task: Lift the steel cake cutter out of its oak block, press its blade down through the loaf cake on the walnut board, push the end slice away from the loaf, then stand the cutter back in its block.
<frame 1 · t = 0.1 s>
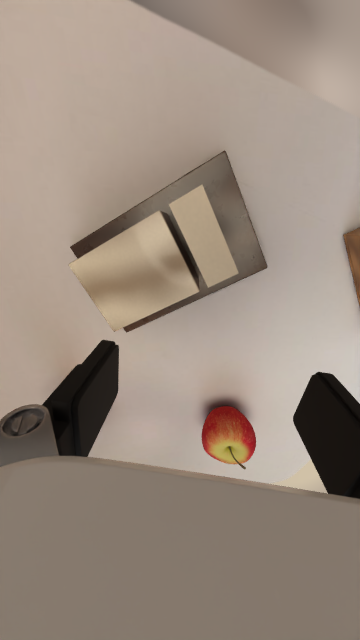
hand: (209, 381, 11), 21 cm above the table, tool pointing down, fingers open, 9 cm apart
cake slice: (203, 237, 27), point 1 cm above the table, touching cake
cake: (161, 259, 30), on the table
apple: (224, 413, 40), on the table
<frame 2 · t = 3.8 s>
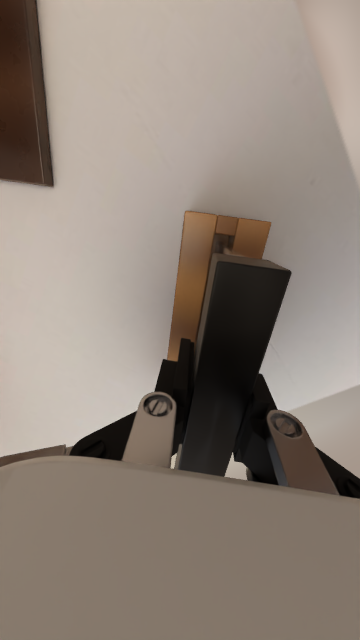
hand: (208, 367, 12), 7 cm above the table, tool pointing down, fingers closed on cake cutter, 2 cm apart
cake cutter: (204, 318, 18), resting on knife block, touching gripper
knife block: (204, 316, 18), on the table
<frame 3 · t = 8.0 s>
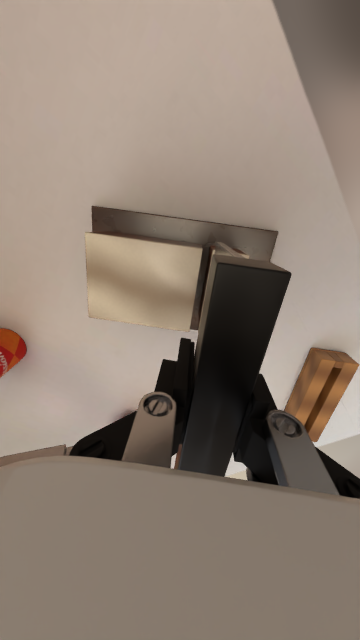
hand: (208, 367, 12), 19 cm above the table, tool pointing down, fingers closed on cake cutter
cake slice: (217, 283, 28), point 1 cm above the table, touching cake
cake: (170, 275, 29), on the table
cake cutter: (204, 319, 18), point 12 cm above the table, touching gripper
coffee cup: (10, 343, 36), on the table
knife block: (309, 390, 35), on the table
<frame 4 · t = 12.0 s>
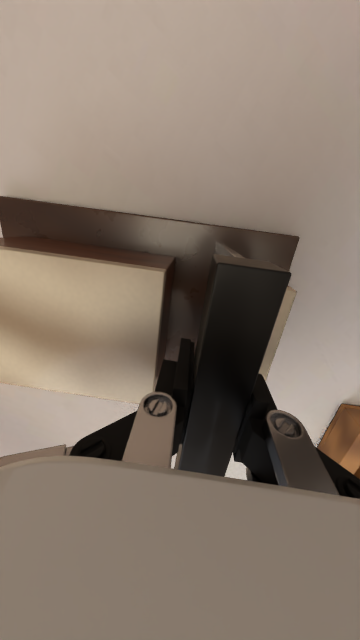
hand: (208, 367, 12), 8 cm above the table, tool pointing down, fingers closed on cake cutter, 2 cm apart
cake slice: (227, 320, 18), point 1 cm above the table, touching cake cutter
cake: (131, 302, 19), on the table
cake cutter: (204, 319, 18), point 1 cm above the table, touching cake slice, gripper
knife block: (335, 456, 25), on the table
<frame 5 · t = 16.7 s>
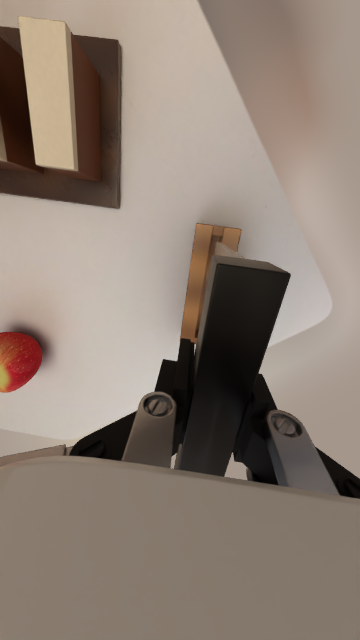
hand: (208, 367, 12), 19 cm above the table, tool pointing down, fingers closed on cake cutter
cake slice: (84, 130, 23), point 1 cm above the table, touching cake
cake: (13, 124, 24), on the table
apple: (29, 345, 36), on the table
cake cutter: (204, 319, 18), point 13 cm above the table, touching gripper
knife block: (206, 285, 30), on the table
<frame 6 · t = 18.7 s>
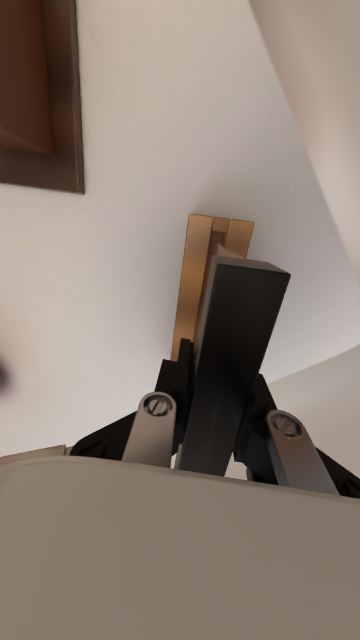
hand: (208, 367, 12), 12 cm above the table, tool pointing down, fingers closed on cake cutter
cake slice: (24, 75, 16), point 1 cm above the table, touching cake
cake cutter: (204, 319, 18), point 5 cm above the table, touching gripper
knife block: (204, 299, 22), on the table
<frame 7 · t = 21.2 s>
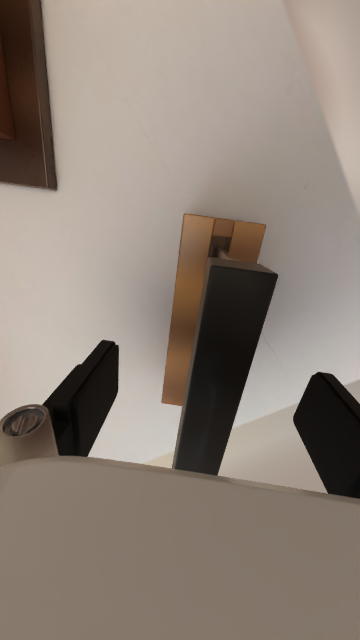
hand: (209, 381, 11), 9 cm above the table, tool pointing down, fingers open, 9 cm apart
cake cutter: (202, 318, 18), resting on knife block
knife block: (203, 315, 19), on the table
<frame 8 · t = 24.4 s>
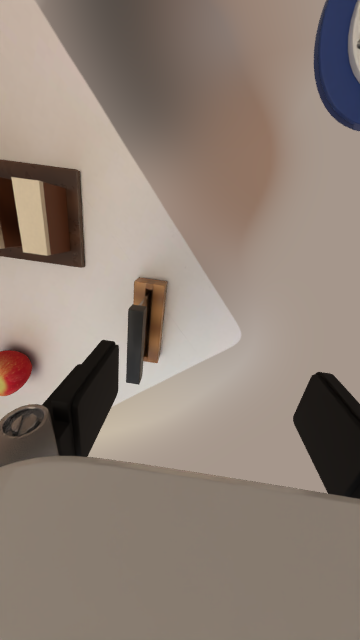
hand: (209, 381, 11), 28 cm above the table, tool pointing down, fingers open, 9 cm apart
cake slice: (57, 219, 34), point 1 cm above the table, touching cake
cake: (9, 212, 35), on the table
apple: (22, 359, 47), on the table
cake cutter: (149, 320, 40), resting on knife block
knife block: (150, 318, 41), on the table
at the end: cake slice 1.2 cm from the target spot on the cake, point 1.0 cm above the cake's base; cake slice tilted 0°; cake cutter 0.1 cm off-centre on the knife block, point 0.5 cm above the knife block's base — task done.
